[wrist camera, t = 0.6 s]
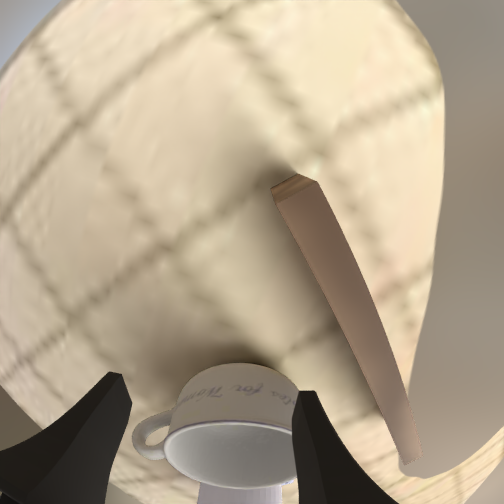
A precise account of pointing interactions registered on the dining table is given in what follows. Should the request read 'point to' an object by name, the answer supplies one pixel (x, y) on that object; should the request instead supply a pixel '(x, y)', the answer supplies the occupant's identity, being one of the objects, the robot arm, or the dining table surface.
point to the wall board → (349, 302)
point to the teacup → (228, 428)
